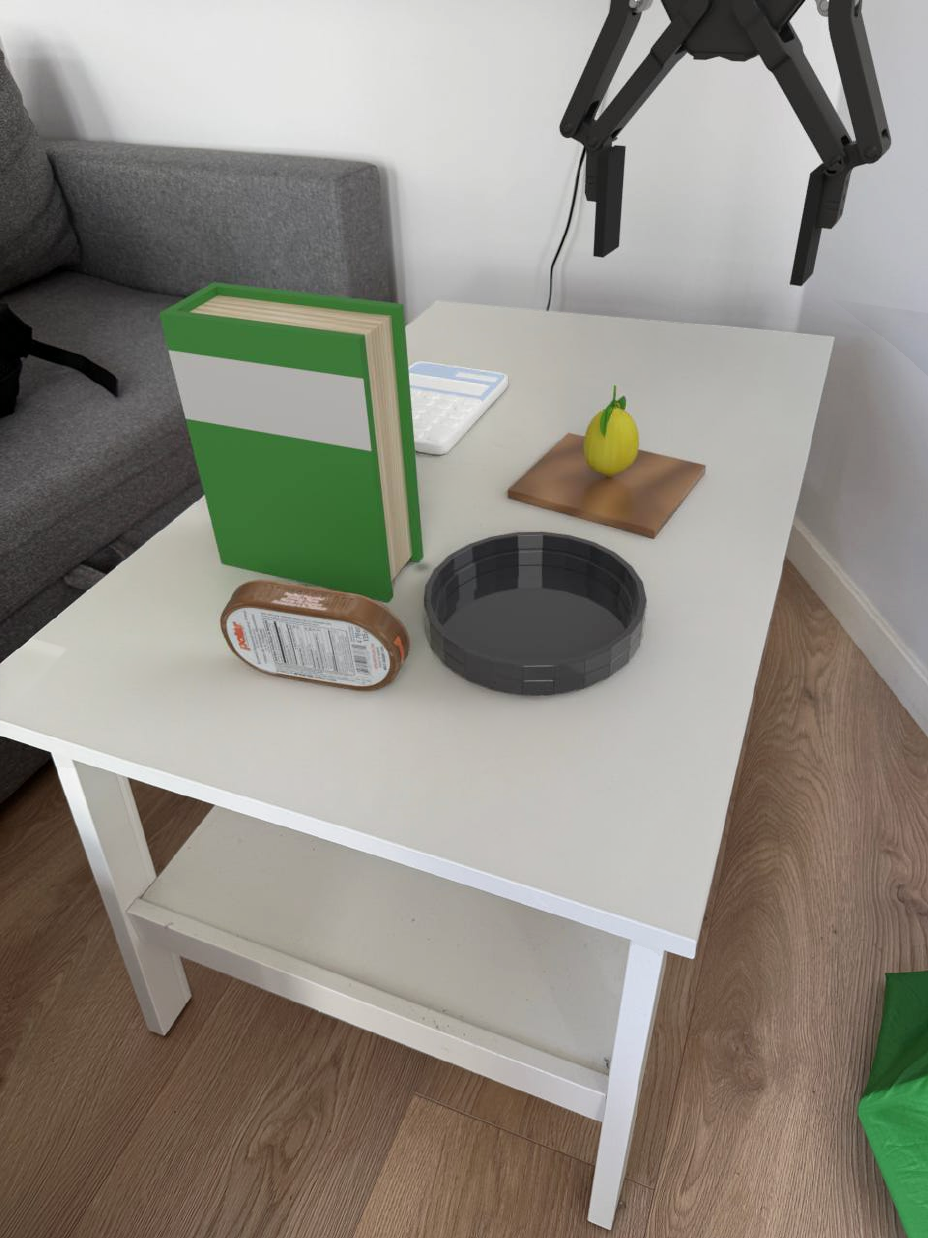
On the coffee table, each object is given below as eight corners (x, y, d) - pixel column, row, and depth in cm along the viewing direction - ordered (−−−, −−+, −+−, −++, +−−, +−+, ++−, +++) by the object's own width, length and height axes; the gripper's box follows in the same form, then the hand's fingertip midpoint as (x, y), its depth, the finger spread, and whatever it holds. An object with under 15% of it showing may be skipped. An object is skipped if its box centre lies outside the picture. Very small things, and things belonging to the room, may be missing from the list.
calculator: (339, 439, 105) (337, 424, 104) (416, 370, 119) (415, 356, 118) (444, 458, 101) (443, 443, 100) (511, 385, 115) (511, 371, 114)
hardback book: (423, 557, 86) (403, 303, 71) (388, 602, 81) (358, 339, 66) (263, 523, 92) (214, 282, 77) (221, 563, 87) (159, 313, 71)
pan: (674, 599, 80) (679, 566, 78) (584, 730, 68) (587, 696, 66) (493, 543, 87) (493, 512, 85) (384, 652, 76) (380, 619, 73)
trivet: (705, 473, 96) (706, 465, 96) (654, 539, 87) (655, 530, 86) (568, 440, 103) (568, 432, 102) (507, 497, 94) (507, 489, 93)
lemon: (600, 499, 91) (606, 406, 85) (566, 474, 95) (569, 384, 89) (653, 479, 94) (662, 388, 87) (617, 456, 98) (624, 367, 91)
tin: (414, 678, 73) (406, 594, 68) (402, 705, 71) (392, 620, 65) (244, 650, 76) (223, 568, 71) (226, 675, 74) (204, 592, 69)
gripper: (507, -135, 51) (509, 256, 64) (1000, -163, 40) (881, 312, 54) (567, -136, 56) (558, 227, 69) (1020, -161, 45) (906, 273, 59)
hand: (699, 265), depth 62 cm, fingers open, 13 cm apart
